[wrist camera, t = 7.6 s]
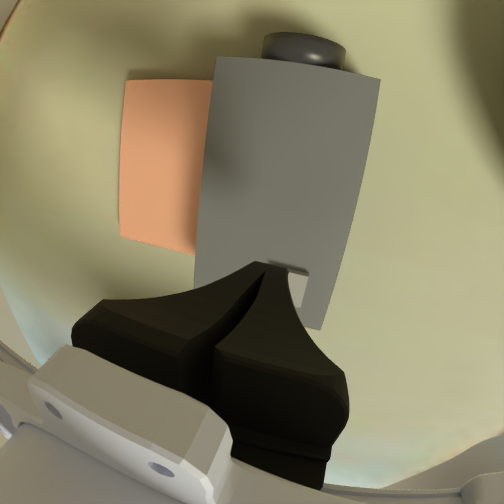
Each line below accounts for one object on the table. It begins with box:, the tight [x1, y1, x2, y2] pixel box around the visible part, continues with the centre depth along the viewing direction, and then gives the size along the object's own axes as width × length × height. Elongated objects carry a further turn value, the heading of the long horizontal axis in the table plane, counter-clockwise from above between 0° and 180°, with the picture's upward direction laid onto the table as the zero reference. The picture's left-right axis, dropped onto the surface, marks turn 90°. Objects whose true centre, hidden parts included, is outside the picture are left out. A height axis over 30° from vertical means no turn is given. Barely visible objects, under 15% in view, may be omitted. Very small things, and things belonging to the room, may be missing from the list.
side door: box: [119, 79, 213, 255], centre depth 20 cm, size 12×1×7 cm
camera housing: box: [194, 32, 380, 330], centre depth 17 cm, size 16×8×5 cm, turn 172°
